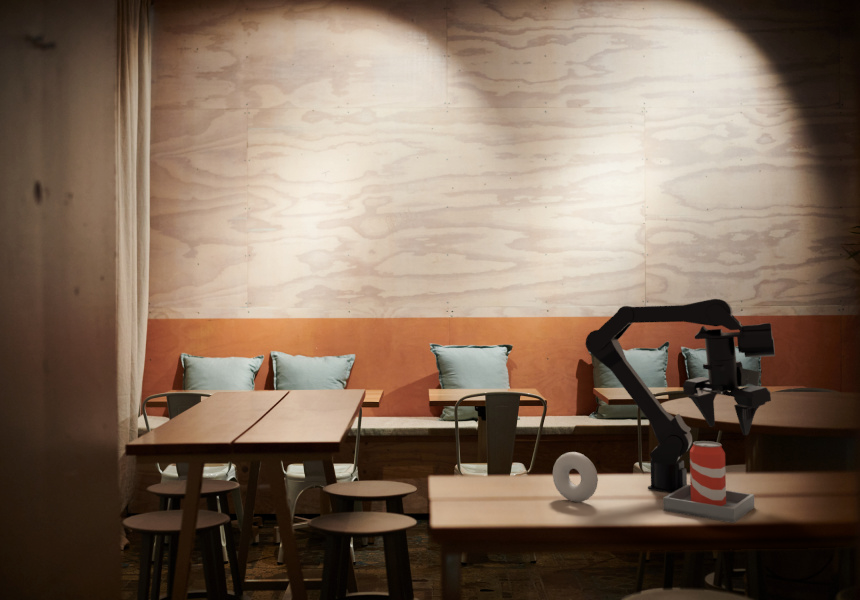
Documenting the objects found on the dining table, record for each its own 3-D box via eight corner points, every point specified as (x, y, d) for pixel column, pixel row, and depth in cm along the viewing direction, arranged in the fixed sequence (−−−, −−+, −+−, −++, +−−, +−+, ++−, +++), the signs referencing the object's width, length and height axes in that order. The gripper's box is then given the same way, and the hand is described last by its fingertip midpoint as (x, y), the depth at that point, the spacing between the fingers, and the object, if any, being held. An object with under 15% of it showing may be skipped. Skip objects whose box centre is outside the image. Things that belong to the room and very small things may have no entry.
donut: (601, 504, 138) (600, 454, 138) (592, 507, 135) (592, 456, 136) (558, 495, 145) (558, 447, 145) (549, 499, 142) (548, 450, 142)
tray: (663, 510, 133) (663, 497, 133) (687, 496, 143) (687, 484, 143) (734, 523, 125) (733, 509, 125) (754, 507, 134) (754, 494, 135)
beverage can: (711, 511, 130) (709, 447, 130) (684, 503, 135) (683, 442, 136) (732, 507, 132) (731, 444, 133) (705, 499, 138) (704, 439, 138)
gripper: (786, 355, 139) (794, 430, 141) (716, 347, 157) (722, 414, 158) (746, 365, 135) (753, 442, 136) (678, 356, 152) (685, 425, 154)
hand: (728, 430), depth 146 cm, fingers open, 9 cm apart
